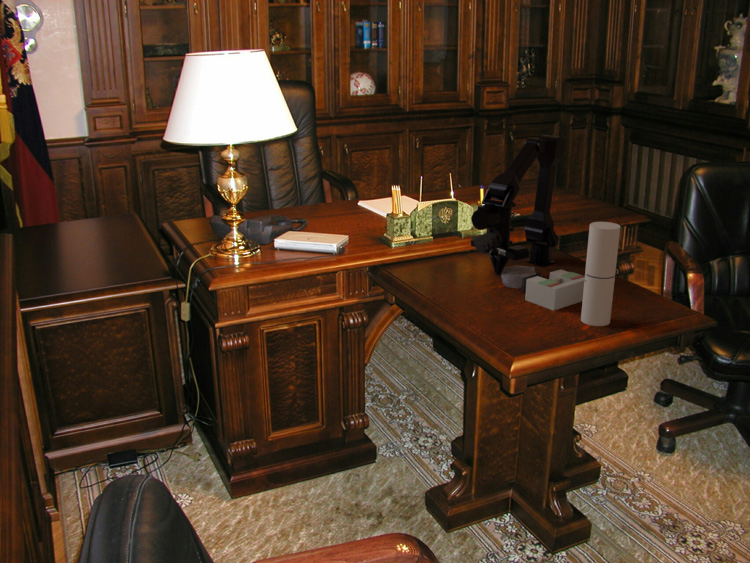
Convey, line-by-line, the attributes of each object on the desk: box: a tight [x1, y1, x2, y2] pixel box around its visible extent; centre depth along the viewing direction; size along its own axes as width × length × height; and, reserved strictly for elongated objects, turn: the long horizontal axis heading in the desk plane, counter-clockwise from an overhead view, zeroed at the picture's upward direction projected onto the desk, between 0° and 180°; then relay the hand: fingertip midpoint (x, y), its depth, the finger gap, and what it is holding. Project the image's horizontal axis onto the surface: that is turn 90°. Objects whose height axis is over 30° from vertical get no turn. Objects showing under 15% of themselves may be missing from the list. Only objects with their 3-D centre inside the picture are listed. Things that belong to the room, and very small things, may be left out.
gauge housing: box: [524, 269, 585, 312], centre depth 200 cm, size 14×10×6 cm
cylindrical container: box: [580, 221, 621, 327], centre depth 183 cm, size 7×7×25 cm
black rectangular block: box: [520, 272, 561, 293], centre depth 204 cm, size 7×9×5 cm
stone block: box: [501, 265, 537, 289], centre depth 215 cm, size 12×5×10 cm
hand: (497, 274), depth 217 cm, fingers closed
